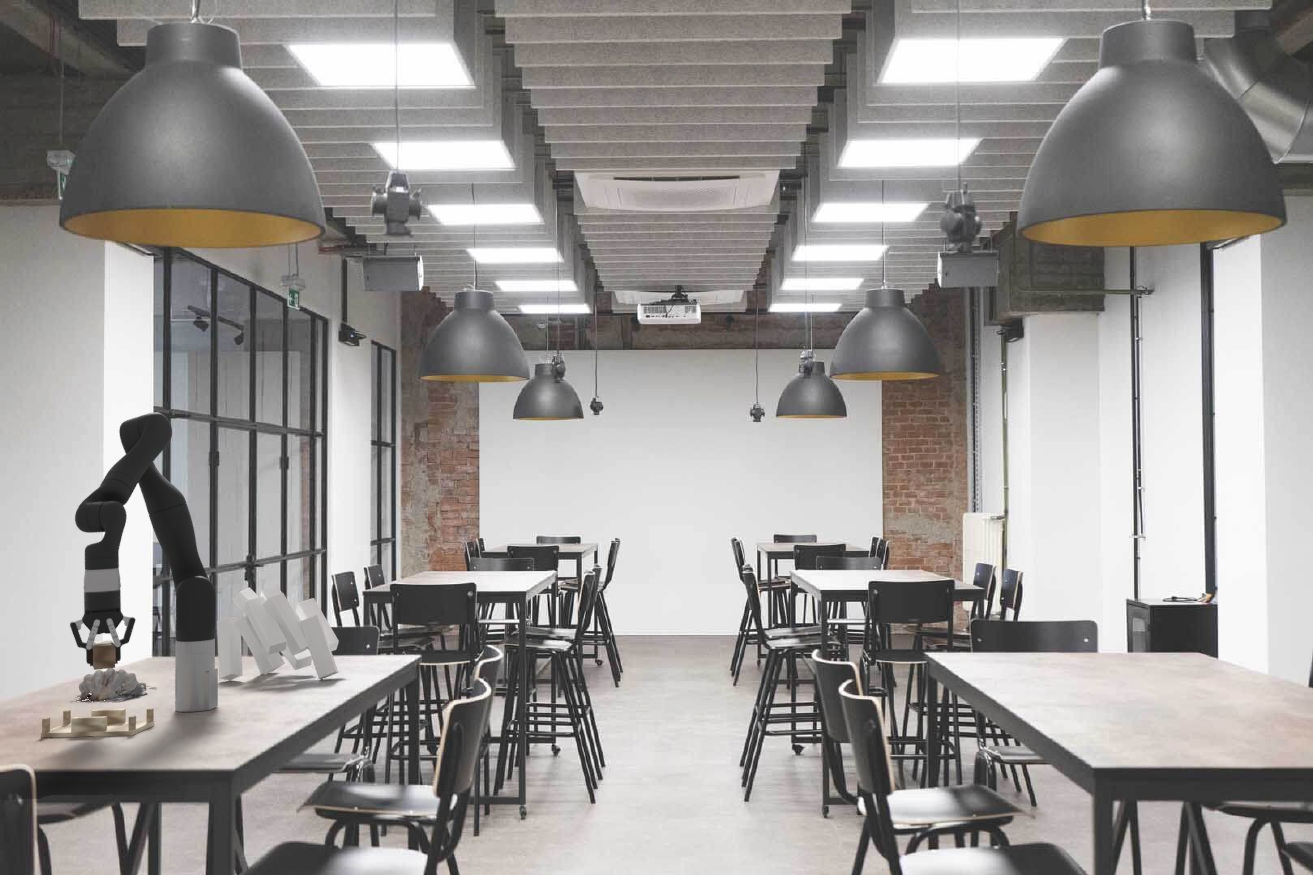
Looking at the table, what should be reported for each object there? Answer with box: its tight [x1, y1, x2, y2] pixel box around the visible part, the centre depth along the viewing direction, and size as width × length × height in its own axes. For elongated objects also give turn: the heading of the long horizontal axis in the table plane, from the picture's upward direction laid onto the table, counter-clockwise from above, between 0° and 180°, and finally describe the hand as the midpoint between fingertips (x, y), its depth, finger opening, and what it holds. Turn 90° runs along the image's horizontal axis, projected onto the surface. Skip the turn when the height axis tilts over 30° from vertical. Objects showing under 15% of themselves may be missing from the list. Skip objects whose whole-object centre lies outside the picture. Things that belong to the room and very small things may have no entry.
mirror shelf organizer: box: [40, 707, 155, 738], centre depth 262 cm, size 20×12×4 cm, turn 91°
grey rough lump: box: [70, 668, 157, 703], centre depth 315 cm, size 19×10×30 cm
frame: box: [92, 639, 117, 671], centre depth 262 cm, size 4×12×5 cm, turn 28°
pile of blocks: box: [216, 585, 340, 681], centre depth 343 cm, size 35×30×35 cm
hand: (103, 664), depth 262 cm, fingers closed on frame, 4 cm apart
